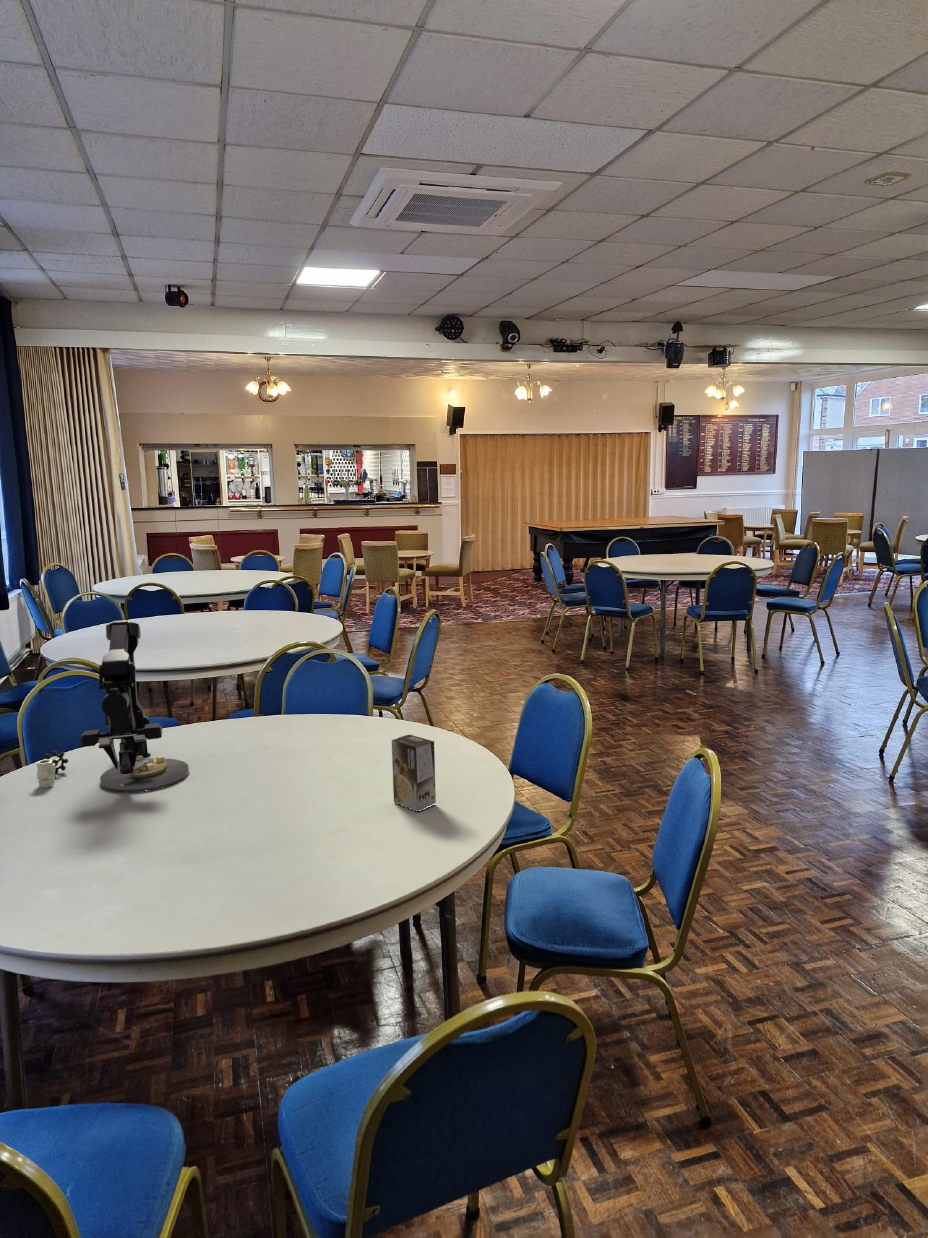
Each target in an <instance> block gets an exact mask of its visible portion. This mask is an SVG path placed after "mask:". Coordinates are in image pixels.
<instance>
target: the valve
mask: <svg viewBox="0 0 928 1238" xmlns="http://www.w3.org/2000/svg"><path fill="white" fill-rule="evenodd" d="M64 756H66V755H65V752H63V751H61V752H60V753H58V751H57V750H56V749H53V750H52V751H51V754H49V753H45V754H44V755H43V759H42V760H39V761H37V763H36V767H37V772H36V777H37V779H38V786H40V787H39V788H42V787H47V788H49V787H48V786H51V785H53V786H54V785H55V784H54V783H56V781H55V780H56V779H55V775H57V774H58V773H59V770H60V769H61V771H63V772H64V771H66V769H67V767H66V765H65V764H68V763H69V758H64ZM53 757H54V759H51V758H53ZM55 757H57V758H59V759H57V758H55ZM59 762H61V764H60V765H59ZM58 765H59V766H58ZM51 787H52V786H51Z"/></svg>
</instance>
